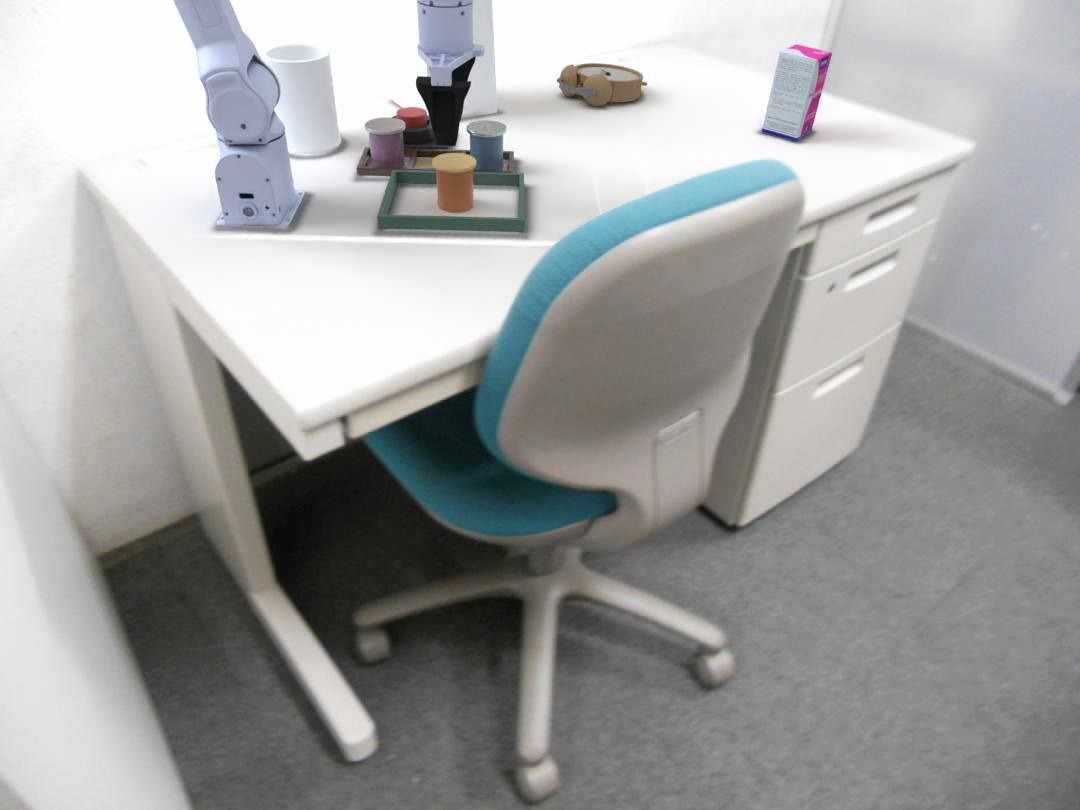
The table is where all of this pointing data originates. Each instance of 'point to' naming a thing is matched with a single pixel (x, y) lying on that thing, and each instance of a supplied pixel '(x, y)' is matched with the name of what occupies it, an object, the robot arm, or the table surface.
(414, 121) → the button
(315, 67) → the mug
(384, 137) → the mauve pod
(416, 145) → the button block
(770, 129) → the supplement box
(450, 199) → the coffee pod
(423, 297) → the table surface
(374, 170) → the pod stand
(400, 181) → the tray
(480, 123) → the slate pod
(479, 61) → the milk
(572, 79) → the alarm clock
